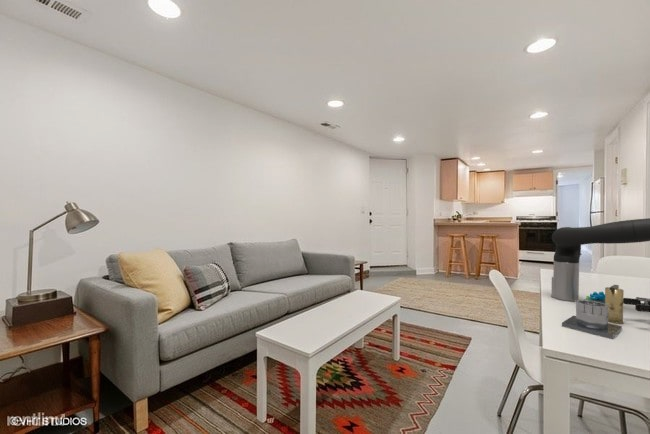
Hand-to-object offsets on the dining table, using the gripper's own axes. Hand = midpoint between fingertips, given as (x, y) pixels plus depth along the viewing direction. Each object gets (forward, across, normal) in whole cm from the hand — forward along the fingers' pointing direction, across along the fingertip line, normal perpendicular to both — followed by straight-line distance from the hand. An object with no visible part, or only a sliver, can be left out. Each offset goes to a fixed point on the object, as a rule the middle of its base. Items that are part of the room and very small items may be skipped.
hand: (629, 304), depth 107 cm
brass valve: (+4, 0, +7) cm, 8 cm away
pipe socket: (+14, +12, +7) cm, 20 cm away
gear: (+1, -18, +7) cm, 20 cm away
